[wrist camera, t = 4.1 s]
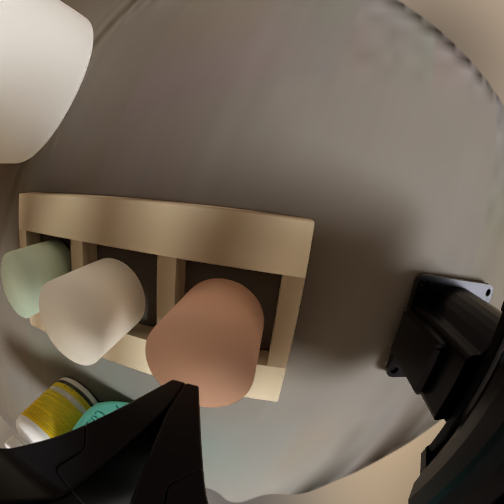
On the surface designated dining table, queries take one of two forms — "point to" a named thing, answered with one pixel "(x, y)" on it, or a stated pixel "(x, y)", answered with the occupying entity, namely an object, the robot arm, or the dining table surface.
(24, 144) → the canister
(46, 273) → the button sage
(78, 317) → the button cream
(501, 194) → the dining table surface
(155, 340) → the button terracotta
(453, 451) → the robot arm
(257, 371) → the three-slot wooden rack
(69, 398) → the supplement bottle
